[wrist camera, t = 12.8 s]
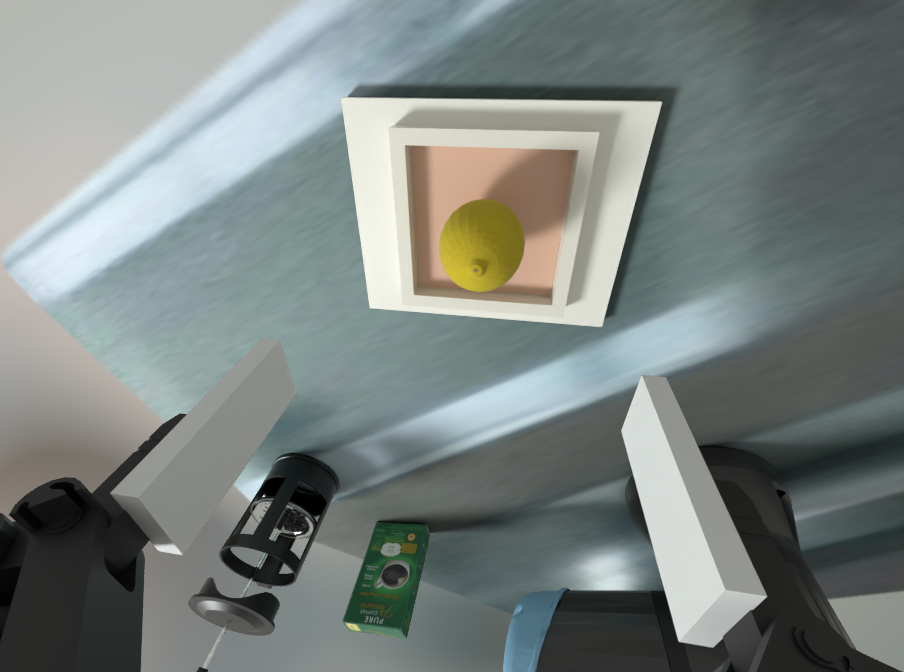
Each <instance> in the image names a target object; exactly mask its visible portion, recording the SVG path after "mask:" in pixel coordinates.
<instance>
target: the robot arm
mask: <svg viewBox="0 0 904 672" xmlns="http://www.w3.org/2000/svg"><path fill="white" fill-rule="evenodd" d="M295 395H296V391H295V388H294V385H293V381H292V378H291V375H290V372H289V368H288V365H287V362H286V359H285V355H284V352H283V349H282V345H281V342H280V340H272V339H260V340H259V341H258V342H257V343H256V344H255V345H254V346H253V347H252V348H251V349H250V351H249V352H248V353H247V354H246V355H245V356H244V357H243V358H242V359H241V360H240V361H239V362H238V363H237V364H236V365H235V366H234V367H233V368H232V369H231V370H230V371H229V372H228V373H227V374H226V375H225V376H224V377H223V378H222V379H221V380H220V381H219V382H218V383H217V384H216V385H215V386H214V387H213V388H212V389H211V390H210V391H209V392H208V393H207V394H206V396H205V397H204V398H203V399H202V400H201V401H200V402H199V403H198V404H197V405H196V406H195V407H194V408H193V409H192V410H191V411H190V412H189V413H188V414H178V415H177V416H175V417H174V418H172V419H170V420H169V421H167V422H166V423H164V424H162V425H161V426H160V427H159V428H158V429H157V430H156V431H155V432H154V433H153V434H152V435H151V436H150V437H149V440H148V441H145V442H144V443H143V444H142V445H141V446H140V447H139V448H138V451H137V452H134V453H133V454H132V455H131V456H130V457H129V458H128V459H127V460H126V461H125V462H124V463H123V464H122V465H121V466H120V467H119V468H118V469H117V470H116V471H115V472H114V473H113V474H111V475H110V476H109V477H108V478H107V479H106V480H105V482H103V483H102V484H101V485H100V486H99V487H98V488H97V489H96V490H95V491H94V492H93V493H92V494H91V493H90V492H89V491H88V489H86V487H85V486H84V485H83V484H82V483H81V482H80V481H79V480H77V479H76V478H66V477H65V478H60V479H56V480H52V481H50V482H48V483H45V484H43V485H41V486H39V487H37V488H36V489H34V490H33V491H31V492H30V493H28V494H26V495H25V496H24V497H23V498H22V499H21V500H20V501H19V502H18V503H17V504H16V505H15V506H14V507H13V509H12V511H11V512H10V514H9V515H10V516H11V517H12V518H13V519H14V520H15V522H12V521H10V520H9V519H8V518H7V517H6V516H4V515H3V514H1V513H0V672H140V671H141V645H142V619H143V618H142V617H143V592H144V590H143V589H144V564H145V557H144V554H143V551H142V549H143V547H144V546H145V545H146V544H147V542H148V541H149V540H150V541H151V543H152V544H153V545H154V546H155V547H156V549H157V550H158V551H162V552H168V553H174V554H180V555H183V554H184V553H185V552H186V550H187V549H188V547H189V546H190V544H191V543H192V542H193V540H194V539H195V537H196V536H197V535H198V533H199V532H200V530H201V528H202V527H203V526H204V524H205V523H206V522H207V520H208V519H209V517H210V516H211V514H212V513H213V512H214V510H215V509H216V507H217V506H218V505H219V503H220V502H221V500H222V499H223V497H224V496H225V495H226V493H227V492H228V490H229V489H230V488H231V486H232V485H233V483H234V482H235V480H236V479H237V478H238V476H239V475H240V473H241V472H242V470H243V469H244V468H245V466H246V465H247V463H248V462H249V460H250V459H251V458H252V456H253V455H254V453H255V452H256V450H257V449H258V448H259V446H260V445H261V443H262V442H263V441H264V439H265V438H266V436H267V435H268V433H269V432H270V431H271V429H272V428H273V426H274V425H275V423H276V422H277V421H278V419H279V418H280V416H281V415H282V413H283V412H284V411H285V409H286V408H287V406H288V405H289V403H290V402H291V401H292V399H293V398H294V396H295ZM621 431H622V435H623V439H624V442H625V446H626V450H627V453H628V457H629V461H630V465H631V468H632V472H633V476H632V477H631V478H630V480H629V482H628V484H627V486H626V491H625V496H626V501H627V505H628V509H629V513H630V516H631V518H632V521H633V523H634V524H635V526H636V527H637V529H638V531H639V532H640V534H641V536H642V537H643V539H644V541H645V542H646V544H647V545H648V547H649V549H650V550H651V552H652V553H653V555H654V557H655V558H656V560H657V564H658V568H659V571H660V575H661V579H662V582H663V586H664V590H665V591H576V590H570V589H568V588H562V589H560V590H559V591H541V592H532V593H529V594H527V595H525V596H524V597H523V598H522V599H521V600H520V602H519V603H518V605H517V606H516V608H515V611H514V613H513V617H512V620H511V623H510V626H509V631H508V636H507V641H506V648H505V655H504V665H503V672H902V671H899V670H897V669H895V668H893V667H891V666H888V665H886V664H884V663H882V662H880V661H878V660H875V659H873V658H871V657H869V656H867V655H865V654H863V653H861V652H859V651H857V650H856V648H855V646H854V645H853V643H852V641H851V639H850V638H849V636H848V634H847V633H846V631H845V629H844V628H843V626H842V624H841V622H840V621H839V619H838V617H837V615H836V614H835V612H834V610H833V608H832V607H831V605H830V603H829V602H828V600H827V598H826V596H825V595H824V593H823V591H822V590H821V588H820V586H819V584H818V583H817V581H816V579H815V578H814V576H813V574H812V572H811V571H810V569H809V567H808V565H807V564H806V562H805V560H804V558H803V556H802V554H801V551H800V546H799V541H798V535H797V530H796V525H795V519H794V514H793V509H792V504H791V499H790V495H789V493H788V491H787V488H786V487H785V485H784V484H783V482H782V480H781V479H780V477H779V476H778V474H777V472H776V471H775V470H774V468H773V467H772V466H771V465H770V464H769V463H767V462H766V461H765V460H763V459H761V458H759V457H757V456H755V455H753V454H750V453H747V452H744V451H740V450H736V449H730V448H721V447H701V448H698V446H697V444H696V442H695V439H694V437H693V435H692V433H691V431H690V429H689V426H688V424H687V422H686V420H685V418H684V416H683V413H682V411H681V409H680V407H679V405H678V403H677V401H676V398H675V396H674V394H673V392H672V390H671V388H670V385H669V383H668V381H667V379H666V377H657V376H646V375H642V376H641V379H640V382H639V384H638V387H637V390H636V392H635V395H634V398H633V400H632V403H631V406H630V409H629V411H628V414H627V417H626V419H625V422H624V425H623V428H622V430H621Z"/></svg>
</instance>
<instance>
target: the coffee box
mask: <svg viewBox="0 0 904 672" xmlns="http://www.w3.org/2000/svg"><path fill="white" fill-rule="evenodd" d="M429 536H430V532H429V529H428V527H427V525H424V524H416V523H412V524H403V523H390V522H376V525H375V528H374V531H373V534H372V537H371V540H370V543H369V546H368V549H367V552H366V555H365V558H364V560H363V563H362V566H361V569H360V572H359V575H358V577H357V580H356V584H355V586H354V589H353V592H352V595H351V598H350V601H349V604H348V607H347V609H346V612H345V615H344V618H343V623H344V625H345V626H346V627H347V628H348V629H349V630H350V631H357V632H363V633H371V634H378V635H385V636H391V637H398V638H404V639H406V638H407V634H408V631H409V626H410V622H411V617H412V613H413V608H414V604H415V600H416V595H417V591H418V586H419V582H420V578H421V573H422V569H423V565H424V560H425V555H426V551H427V547H428V541H429Z"/></svg>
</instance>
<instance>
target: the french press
mask: <svg viewBox="0 0 904 672" xmlns="http://www.w3.org/2000/svg"><path fill="white" fill-rule="evenodd" d="M284 477H286V479H285V478H284ZM300 481H302V482H304V483H306V484H308V485H310V486H312V487H313V488H314V489H316V490H317V491H318V492H319V493H310V492H306V491H302V490H300V489H298V488H297V486H298V484H299V482H300ZM338 488H339V480H338V477H337V476H336V474H335V473H334V472H333V470H332V469H331V468H329V467H328V466H327V465H326V464H324V463H322V462H321V461H319V460H317V459H315V458H312V457H309V456H306V455H301V454H285V455H282V456H280V457H278V458H277V459H276V460H275V461H274V463H273V465H272V469H271V471H270V472H269V474H268V475H267V477H266V479H265V480H264V482H263V484H262V486H261V488H260V489H259V491H258V492H257V494H256V496H255V497H254V499H253V500H252V502H251V504H250V506H249V507H248V508H247V510H246V512H245V513H244V515H243V517H242V518H241V520H240V521H239V523H238V524H237V526H236V528H235V529H234V531H233V532H232V534H231V536H230V537H229V538H228V539H227V541H226V542H225V544H224V545H223V547H222V549H221V550H220V553H219V557H220V559H221V561H222V562H223V563H224V564H225V565H226V566H227V567H228V568H229V569H231V570H232V571H233V572H235V573H237V574H239V575H240V576H242V577H245V578H247V579H249V581H248V583H247V585H246V587H245V589H244V591H243V593H242V594H241V596H240V598H229V597H226V596H223V595H221V594H220V593H219V591H218V590H217V588H216V585H215V582H214V579H213V578H208V579H207V581H206V582H205V584H204V586H203V587H202V589H201V590H200V592H199V594H196V595H193V596H192V597H191V598H190V599H189V602H188V604H189V607H190V608H191V609H192V610H193V611H194V612H195V613H196V614H197V615H199V616H200V617H202V618H204V619H206V620H207V621H209V622H211V623H213V624H216V625H218V626H220V627H223V630H222V632H221V634H220V635H219V637H218V639H217V641H216V643H215V645H214V647H213V648H212V650H211V652H210V654H209V656H208V658H207V660H206V661H205V663H204V665H203V667H202V668H201V667H199V669H198V670H197V672H208V670H207V669H206V668H207V666H208V664H209V662H210V660H211V658H212V656H213V654H214V652H215V651H216V648H217V647H218V645H219V643H220V641H221V639H222V637H223V635H224V634H225V632H226V630H227V629H228V630H232V631H235V632H239V633H244V634H248V635H259V636H260V635H268V634H271V633H272V632H273V631H274V628H275V624H274V622H273V620H274V618H275V616H276V614H277V611H278V609H279V607H280V603H279V601H278V599H277V598H276V597H275V596H274V595H273V594H271V593H267V592H264V593H260V594H256V595H252V596H249V597H244V596H245V594H246V592H247V590H248V588H249V586H250V584H251V582H252V581H254V582H256V583H257V585H258V586H261V587H265V588H269V589H271V588H272V586H288V585H291V584H293V583H294V582H295V581H296V579H297V576H298V575H299V572H300V570H301V568H302V565H303V563H304V561H305V559H306V556H307V554H308V552H309V550H310V548H311V545H312V543H313V541H314V539H315V536H316V534H317V532H318V530H319V527H320V525H321V523H322V521H323V518H324V516H325V514H326V512H327V509H328V507H329V505H330V503H331V500H332V498H333V496H334V495H335V494H336V492H337V491H338ZM263 495H265V497H262V496H263ZM251 515H252V516H253V518H254V519H255V520H256V521H257V522H258V523H259V525H258V527H257V529H256V530H255V532H254V534H253V535H250V534H240V532H241V531H242V529H243V527H244V525H245V524H246V522H247V520H248V519H249V517H250V516H251ZM317 516H320V517H319V519H318V521H317V522H316V520H315V518H314V517H317ZM272 532H274V535H273V537H272V538H271V540H270V539H269V537H270V535H271V534H272ZM277 534H279V535H278V537H277V539H276V541H274V539H275V537H276V535H277ZM310 536H311V537H310ZM307 537H310V539H309V541H308V543H307V545H306V548H305V550H304V552H303V554H302V556H301V559H299V558H298V557H297V556H296V555H295V554H294V553H293V552H292V551H291V550H290V549H291V547H292V545H293V543H294V541H295V539H296V538H307ZM231 547H245V548H251V549H255V550H258V551H261V552H264V553H263V555H262V557H261V559H260V561H259V563H258V565H257V566H256V568H255V567H253V566H251V565H249V564H247V563H245V562H243V561H242V560H240V559H239V558H237V557H236V556H235V555H234V554H233V553H232V552H231V550H230V549H231ZM266 554H268V556H267V558H266V560H265V562H264V564H263V566H262V568H261V570H260V569H259V567H260V566H261V564H262V562H263V560H264V558H265V556H266ZM284 563H285V564H286V565H287V566H288V567H289V568H290V569H291V570H292V571H293V573H290V574H279V572H280V570H281V567H282V566H283V564H284Z"/></svg>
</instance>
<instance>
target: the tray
mask: <svg viewBox="0 0 904 672" xmlns="http://www.w3.org/2000/svg"><path fill="white" fill-rule="evenodd" d="M341 101H342V108H343V115H344V123H345V130H346V137H347V144H348V152H349V159H350V166H351V174H352V181H353V188H354V195H355V203H356V210H357V217H358V225H359V232H360V239H361V247H362V254H363V261H364V268H365V276H366V283H367V290H368V298H369V305H370V308H376V309H388V310H400V311H413V312H425V313H437V314H449V315H462V316H474V317H486V318H498V319H511V320H523V321H535V322H547V323H560V324H572V325H584V326H596V327H602V325H603V321H604V317H605V314H606V310H607V306H608V302H609V299H610V295H611V291H612V288H613V284H614V280H615V276H616V273H617V269H618V265H619V261H620V258H621V254H622V250H623V246H624V243H625V239H626V235H627V231H628V228H629V224H630V220H631V217H632V213H633V209H634V205H635V202H636V198H637V194H638V190H639V187H640V183H641V179H642V175H643V172H644V168H645V164H646V160H647V157H648V153H649V149H650V146H651V142H652V138H653V134H654V131H655V127H656V123H657V119H658V116H659V112H660V108H661V104H662V102H661V101H638V100H558V99H478V98H398V97H343V98H341ZM480 199H487V200H494V201H497V202H499V203H502V204H504V205H505V206H506V207H508V208H509V209H511V210H512V212H513V213H514V214H515V215H516V216H517V218H518V219H519V221H520V224H521V226H522V228H523V232H524V238H525V247H524V255H523V258H522V260H521V263H520V266H519V268H518V269H517V271H516V272H515V273H514V275H513V276H512V278H511V279H510V280H508V281H507V282H506V283H505V284H504V285H502V286H500V287H498V288H496V289H494V290H491V291H486V292H474V291H470V290H466V289H464V288H462V287H460V286H458V285H457V284H456V283H455V282H454V281H452V280H451V278H450V277H449V276H448V274H447V273H446V272H445V270H444V267H443V265H442V262H441V258H440V251H439V245H440V236H441V233H442V230H443V228H444V225H445V223H446V221H447V220H448V218H449V217H450V216H451V214H452V213H453V212H454V211H455V210H457V209H458V208H459V207H460V206H462V205H464V204H466V203H468V202H470V201H473V200H480Z"/></svg>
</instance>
